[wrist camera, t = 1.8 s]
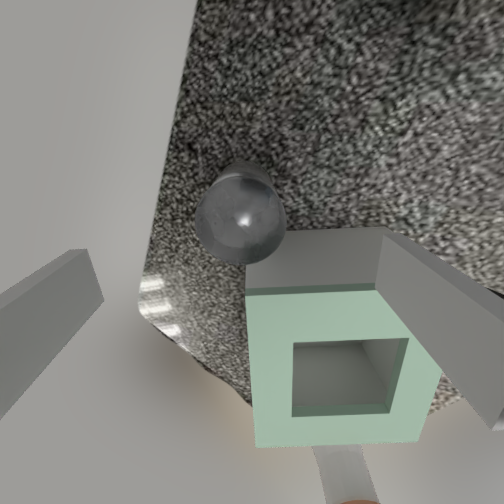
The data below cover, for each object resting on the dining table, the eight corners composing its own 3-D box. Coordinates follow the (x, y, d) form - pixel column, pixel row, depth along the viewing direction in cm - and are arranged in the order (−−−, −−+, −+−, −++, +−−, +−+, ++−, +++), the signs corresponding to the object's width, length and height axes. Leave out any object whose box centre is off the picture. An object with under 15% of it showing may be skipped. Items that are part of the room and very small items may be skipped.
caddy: (246, 232, 30) (244, 296, 18) (384, 226, 30) (472, 286, 18) (253, 349, 38) (255, 447, 26) (364, 344, 38) (417, 441, 26)
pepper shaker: (302, 365, 39) (345, 552, 22) (349, 371, 40) (427, 557, 22) (291, 398, 42) (321, 585, 25) (334, 402, 43) (393, 588, 25)
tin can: (213, 161, 27) (188, 179, 16) (271, 158, 27) (287, 174, 16) (219, 217, 30) (201, 267, 19) (272, 215, 29) (286, 263, 19)
